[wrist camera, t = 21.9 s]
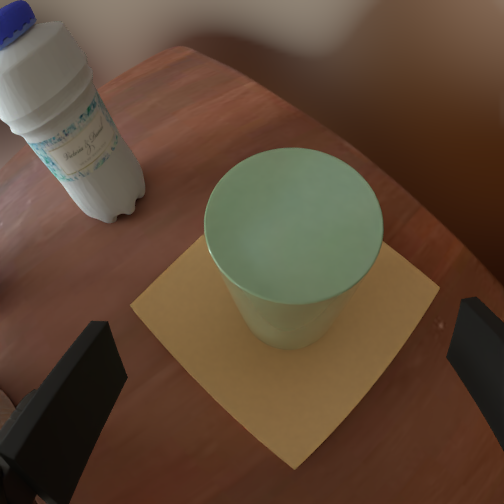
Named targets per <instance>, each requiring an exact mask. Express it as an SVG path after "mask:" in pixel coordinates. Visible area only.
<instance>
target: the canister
mask: <svg viewBox="0 0 504 504" xmlns="http://www.w3.org/2000/svg"><path fill="white" fill-rule="evenodd" d="M204 233H205V239H206V243H207V246H208V249H209V252H210V254H211V256H212V258H213V260H214V262H215V264H216V266H217V268H218V270H219V272H220V274H221V276H222V278H223V280H224V282H225V284H226V286H227V288H228V290H229V292H230V294H231V296H232V298H233V300H234V302H235V304H236V306H237V308H238V310H239V312H240V314H241V316H242V318H243V320H244V322H245V323H246V325H247V327H248V329H249V330H250V331H251V333H252V334H253V335H254V336H255V337H256V338H257V339H259V340H260V341H261V342H263V343H265V344H266V345H269V346H271V347H274V348H277V349H283V350H295V349H301V348H304V347H307V346H309V345H312V344H313V343H315V342H317V341H318V340H319V339H321V338H322V337H323V336H324V335H325V334H326V333H327V331H328V330H329V329H330V327H331V326H332V325H333V323H334V322H335V320H336V319H337V318H338V316H339V315H340V313H341V312H342V311H343V309H344V308H345V306H346V305H347V303H348V302H349V300H350V299H351V298H352V296H353V295H354V293H355V292H356V290H357V289H358V287H359V286H360V284H361V283H362V281H363V280H364V278H365V277H366V275H367V274H368V272H369V271H370V269H371V267H372V266H373V264H374V263H375V261H376V259H377V256H378V254H379V252H380V249H381V245H382V241H383V233H384V225H383V216H382V211H381V208H380V205H379V202H378V199H377V197H376V195H375V193H374V191H373V190H372V188H371V187H370V185H369V184H368V183H367V181H366V180H365V179H364V178H363V177H362V176H361V175H360V174H359V173H358V172H357V171H356V170H355V169H354V168H352V167H351V166H349V165H348V164H347V163H345V162H343V161H342V160H340V159H338V158H336V157H334V156H331V155H329V154H327V153H323V152H320V151H317V150H312V149H306V148H279V149H273V150H268V151H265V152H261V153H258V154H256V155H253V156H251V157H249V158H247V159H245V160H243V161H242V162H240V163H238V164H237V165H236V166H234V167H233V168H232V169H230V170H229V171H228V172H227V173H226V174H225V175H224V176H223V177H222V179H221V180H220V181H219V182H218V184H217V185H216V187H215V188H214V190H213V192H212V194H211V196H210V198H209V200H208V204H207V207H206V210H205V217H204Z"/></svg>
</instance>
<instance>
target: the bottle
mask: <svg viewBox="0 0 504 504" xmlns="http://www.w3.org/2000/svg"><path fill="white" fill-rule="evenodd" d="M35 22H36V18H35V16H34V14H33V11H32V9H31V7H30V6H29V4H28V3H27V2H25V1H22V0H20V1H15V2H13V3H10V4H9V5H6V6H4V7H3V8H1V9H0V118H1V120H2V121H3V122H5V123H6V124H8V125H9V126H10V128H11V131H12V132H13V133H15V134H17V135H20V136H22V137H24V139H25V140H26V142H27V143H28V144H29V145H30V147H31V148H32V149H33V150H34V152H35V153H36V154H37V155H38V156H39V158H40V159H41V160H42V161H43V162H44V164H45V165H46V166H47V167H48V168H49V170H50V171H51V172H52V173H53V174H54V176H55V177H56V178H57V179H58V180H59V181H60V182H61V184H62V185H63V186H64V188H65V189H66V191H67V192H68V193H69V195H70V196H71V197H72V199H73V200H74V201H75V203H76V204H77V205H78V206H79V207H80V208H81V210H82V211H83V212H84V213H86V214H87V215H88V216H90V217H92V218H96V219H98V220H101V221H103V222H106V223H113V222H115V221H116V220H117V215H119V214H127V215H130V214H132V213H133V212H134V211H135V201H136V199H137V198H142V197H143V196H144V194H145V182H144V177H143V172H142V169H141V166H140V164H139V162H138V161H137V159H136V157H135V156H134V154H133V153H132V151H131V150H130V148H129V147H128V145H127V144H126V143H125V141H124V140H123V138H122V137H121V135H120V133H119V132H118V130H117V128H116V126H115V124H114V122H113V120H112V118H111V116H110V115H109V113H108V111H107V109H106V107H105V105H104V103H103V101H102V99H101V98H100V96H99V94H98V92H97V90H96V88H95V86H94V84H93V81H92V80H93V71H92V69H91V68H90V67H89V66H88V62H87V56H86V54H85V53H84V52H83V51H82V49H81V48H80V46H79V45H78V43H77V42H76V41H75V39H74V38H73V36H72V35H71V33H70V32H69V30H68V29H67V27H66V26H65V25H64V24H63V23H62V22H60V21H55V22H47V23H41V24H35V25H34V23H35Z"/></svg>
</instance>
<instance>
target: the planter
mask: <svg viewBox="0 0 504 504" xmlns="http://www.w3.org/2000/svg"><path fill="white" fill-rule="evenodd" d="M14 410H16V408H15V407H14V405H13V403H12V402H11V400H10V399H9V398H8V396H7V395H6V394H5V393H4V392H3V391H2V390H1V389H0V430H1V428H2V427H3V425H4V424H5V422H6V421H7V419H10V415H11V414H12V412H13V411H14Z"/></svg>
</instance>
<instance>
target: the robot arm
mask: <svg viewBox="0 0 504 504" xmlns="http://www.w3.org/2000/svg"><path fill="white" fill-rule="evenodd" d="M446 358H447V359H448V360H449V362H450V363H451V365H452V366H453V368H454V369H455V371H456V372H457V374H458V376H459V377H460V379H461V380H462V382H463V383H464V385H465V386H466V388H467V390H468V391H469V393H470V394H471V396H472V397H473V399H474V401H475V402H476V404H477V406H478V407H479V409H480V411H481V412H482V414H483V416H484V417H485V419H486V421H487V422H488V424H489V426H490V428H491V429H492V431H493V433H494V435H495V436H496V438H497V440H498V442H499V444H500V445H501V447H502V449H503V451H504V323H503V322H502V321H501V320H500V319H499V318H498V317H497V316H496V315H495V314H494V313H493V312H492V311H491V310H490V309H489V308H488V307H487V306H486V305H485V304H484V303H483V302H481V301H480V300H479V299H478V298H477V297H471V298H465V299H461V304H460V308H459V312H458V316H457V320H456V324H455V328H454V332H453V336H452V339H451V343H450V346H449V350H448V353H447V356H446ZM127 378H128V376H127V374H126V371H125V369H124V366H123V363H122V361H121V358H120V355H119V353H118V350H117V347H116V344H115V341H114V338H113V335H112V332H111V329H110V326H109V323H108V321H91V322H90V323H89V324H88V325H87V327H86V328H85V329H84V330H83V332H82V333H81V334H80V335H79V336H78V338H77V339H76V340H75V341H74V343H73V344H72V345H71V346H70V348H69V349H68V350H67V351H66V353H65V354H64V355H63V357H62V358H61V359H60V360H59V362H58V363H57V364H56V366H55V367H54V368H53V369H52V371H51V372H50V373H49V375H48V376H47V377H46V379H45V380H44V381H43V383H42V384H41V385H40V387H39V388H38V390H36V389H34V390H33V391H31V392H30V393H29V394H27V395H26V396H25V397H24V398H23V399H22V400H21V401H20V403H19V404H18V406H17V407H16V410H14V411H13V412H12V414H11V415H10V419H7V421H6V422H5V424H4V425H3V427H2V428H1V430H0V504H37V502H36V501H35V500H34V499H35V497H36V495H38V496H39V497H41V498H42V499H43V500H44V501H45V502H46V503H47V504H69V502H70V500H71V498H72V495H73V493H74V491H75V488H76V486H77V484H78V481H79V479H80V477H81V475H82V472H83V470H84V468H85V466H86V464H87V461H88V459H89V457H90V455H91V453H92V450H93V448H94V446H95V444H96V442H97V440H98V438H99V435H100V433H101V431H102V429H103V427H104V425H105V423H106V421H107V419H108V417H109V415H110V412H111V410H112V408H113V406H114V404H115V402H116V400H117V398H118V396H119V394H120V392H121V390H122V388H123V386H124V384H125V382H126V380H127Z"/></svg>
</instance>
